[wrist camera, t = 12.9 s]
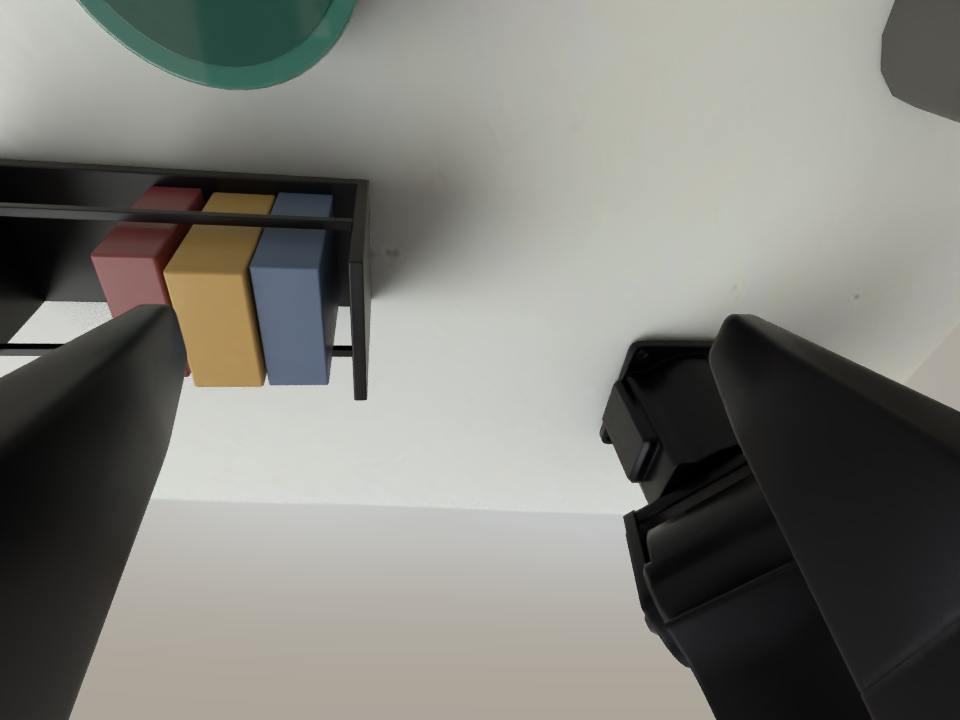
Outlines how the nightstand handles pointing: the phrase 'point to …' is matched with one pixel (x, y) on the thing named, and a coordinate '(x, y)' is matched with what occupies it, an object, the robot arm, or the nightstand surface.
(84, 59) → the nightstand surface
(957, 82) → the candle holder
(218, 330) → the books
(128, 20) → the green glass jar
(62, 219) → the rack
